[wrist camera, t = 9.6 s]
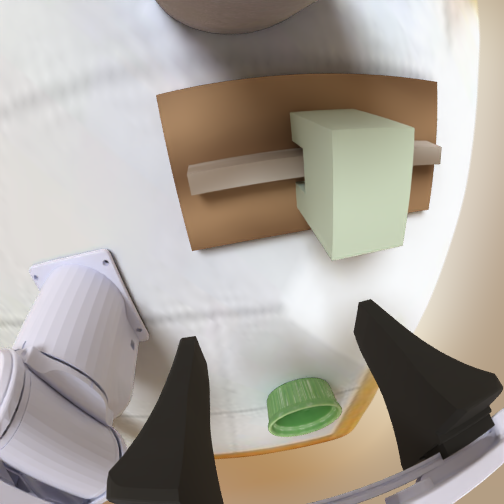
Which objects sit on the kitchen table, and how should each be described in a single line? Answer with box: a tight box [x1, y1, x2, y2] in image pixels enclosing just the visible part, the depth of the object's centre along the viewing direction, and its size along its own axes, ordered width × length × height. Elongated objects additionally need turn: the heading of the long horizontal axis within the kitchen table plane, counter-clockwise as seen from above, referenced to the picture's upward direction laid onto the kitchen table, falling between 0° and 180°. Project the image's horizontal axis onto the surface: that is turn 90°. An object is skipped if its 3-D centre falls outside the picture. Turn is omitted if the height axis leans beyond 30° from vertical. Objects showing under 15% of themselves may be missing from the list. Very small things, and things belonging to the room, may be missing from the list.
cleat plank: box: [156, 73, 442, 251], centre depth 16 cm, size 10×18×3 cm, turn 97°
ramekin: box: [267, 378, 342, 437], centre depth 32 cm, size 9×9×4 cm
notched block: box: [290, 109, 415, 261], centre depth 14 cm, size 6×4×6 cm, turn 7°
